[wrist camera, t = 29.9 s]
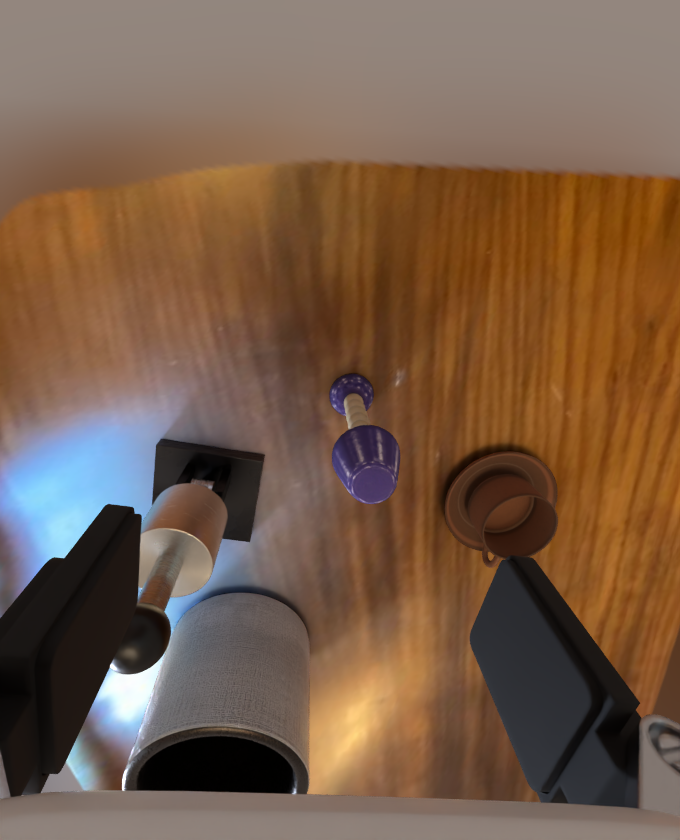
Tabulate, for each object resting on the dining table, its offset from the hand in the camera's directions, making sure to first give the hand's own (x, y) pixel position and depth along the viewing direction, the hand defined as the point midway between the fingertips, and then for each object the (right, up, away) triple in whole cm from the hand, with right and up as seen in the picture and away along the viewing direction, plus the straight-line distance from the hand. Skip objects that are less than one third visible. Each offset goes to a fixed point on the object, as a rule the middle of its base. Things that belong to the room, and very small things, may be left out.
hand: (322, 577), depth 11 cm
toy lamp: (+1, +6, +30) cm, 31 cm away
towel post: (-12, -2, +29) cm, 31 cm away
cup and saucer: (+17, -4, +35) cm, 39 cm away
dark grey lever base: (-13, -3, +32) cm, 35 cm away
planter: (-11, -22, +40) cm, 47 cm away
